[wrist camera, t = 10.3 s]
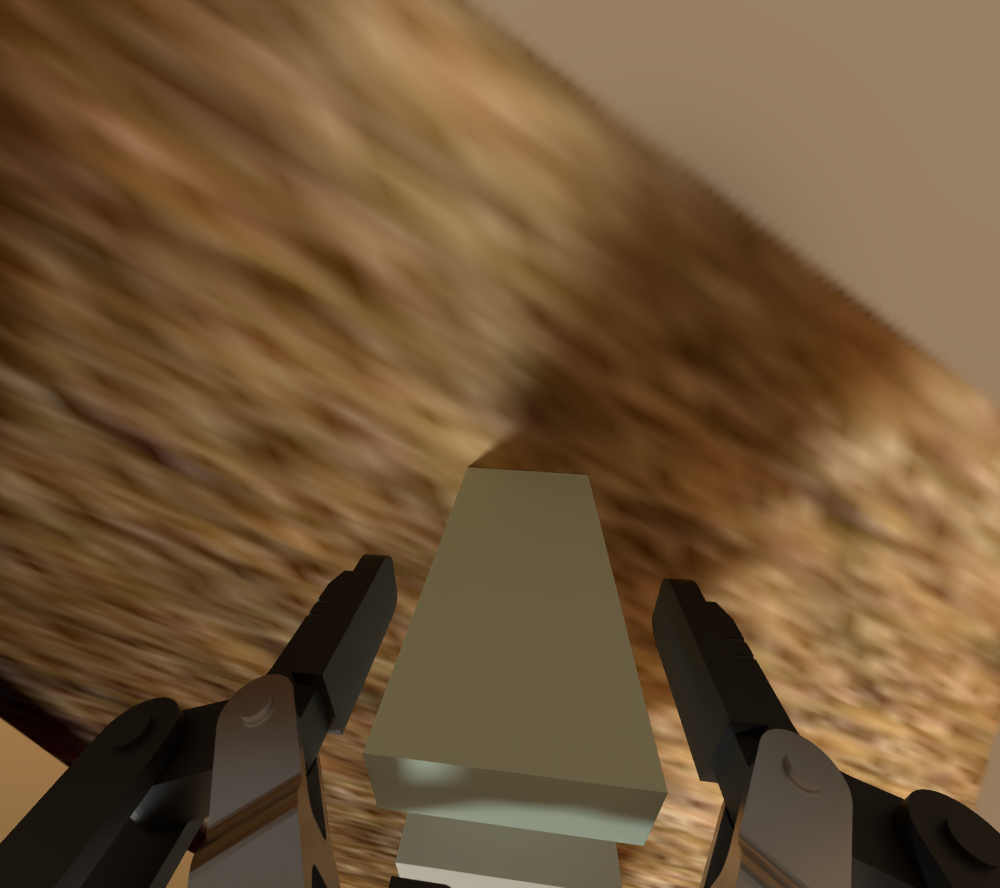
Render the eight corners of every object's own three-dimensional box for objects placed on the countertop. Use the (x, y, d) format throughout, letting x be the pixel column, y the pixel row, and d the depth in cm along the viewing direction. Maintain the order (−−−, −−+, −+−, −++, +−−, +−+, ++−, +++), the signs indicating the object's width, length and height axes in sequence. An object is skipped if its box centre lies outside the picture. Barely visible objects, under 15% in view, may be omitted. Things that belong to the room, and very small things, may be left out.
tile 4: (572, 590, 17) (610, 926, 8) (471, 582, 18) (404, 894, 9) (576, 559, 17) (623, 896, 8) (470, 551, 17) (395, 862, 8)
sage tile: (582, 514, 16) (643, 845, 6) (468, 506, 16) (378, 807, 7) (588, 474, 15) (667, 793, 6) (467, 467, 15) (362, 752, 6)
